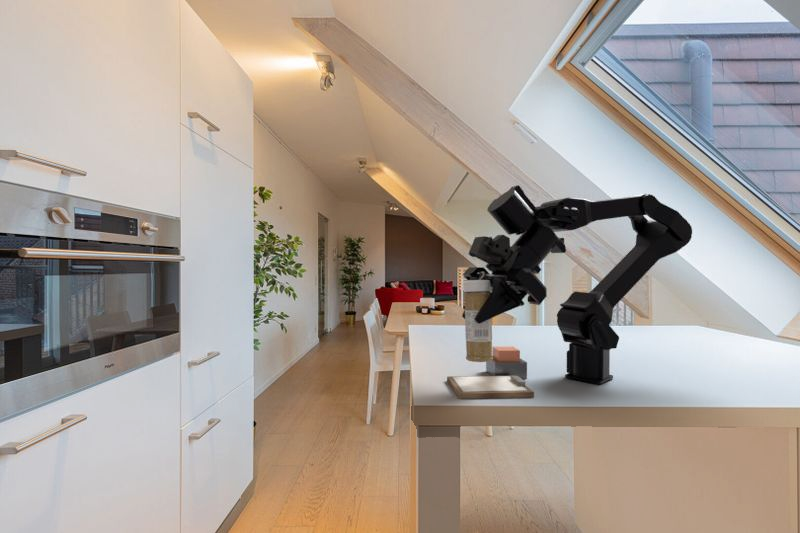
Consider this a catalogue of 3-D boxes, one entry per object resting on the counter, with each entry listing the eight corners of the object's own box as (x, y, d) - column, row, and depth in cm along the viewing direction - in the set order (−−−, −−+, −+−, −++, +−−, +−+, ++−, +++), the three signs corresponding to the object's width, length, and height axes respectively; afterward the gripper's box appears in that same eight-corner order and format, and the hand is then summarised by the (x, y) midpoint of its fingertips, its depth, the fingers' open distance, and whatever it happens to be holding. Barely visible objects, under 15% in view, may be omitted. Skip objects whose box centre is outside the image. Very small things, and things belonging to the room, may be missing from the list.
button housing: (515, 370, 88) (516, 355, 88) (526, 378, 82) (527, 362, 82) (486, 371, 88) (486, 355, 88) (495, 379, 82) (495, 362, 82)
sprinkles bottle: (493, 358, 76) (491, 280, 77) (492, 362, 72) (489, 279, 73) (466, 358, 78) (464, 280, 78) (464, 362, 73) (461, 280, 74)
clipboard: (512, 379, 81) (512, 371, 81) (533, 397, 71) (534, 387, 71) (447, 380, 80) (447, 372, 80) (459, 398, 70) (459, 388, 70)
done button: (512, 361, 87) (512, 346, 87) (519, 366, 83) (519, 350, 83) (492, 362, 87) (492, 346, 87) (498, 366, 83) (498, 350, 83)
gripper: (472, 224, 85) (418, 284, 82) (529, 215, 67) (463, 290, 64) (508, 265, 88) (457, 324, 84) (573, 266, 70) (512, 341, 67)
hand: (470, 319), depth 75 cm, fingers closed on sprinkles bottle, 4 cm apart
